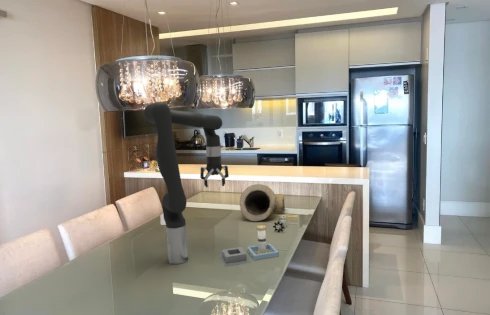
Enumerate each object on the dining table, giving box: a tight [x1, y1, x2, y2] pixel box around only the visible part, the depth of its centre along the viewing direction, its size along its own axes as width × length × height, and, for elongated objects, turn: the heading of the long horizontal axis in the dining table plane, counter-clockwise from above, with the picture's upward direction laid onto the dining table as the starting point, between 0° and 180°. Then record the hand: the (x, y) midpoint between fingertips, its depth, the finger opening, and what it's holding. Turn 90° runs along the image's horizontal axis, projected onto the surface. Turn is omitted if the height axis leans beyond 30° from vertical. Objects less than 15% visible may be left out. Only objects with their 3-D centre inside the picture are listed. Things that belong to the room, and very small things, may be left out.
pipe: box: [239, 183, 286, 222], centre depth 245 cm, size 23×29×30 cm
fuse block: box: [218, 246, 252, 268], centre depth 173 cm, size 12×16×4 cm
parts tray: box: [246, 243, 280, 261], centre depth 177 cm, size 12×12×4 cm
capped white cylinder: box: [256, 224, 268, 254], centre depth 176 cm, size 4×4×14 cm
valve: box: [272, 215, 288, 233], centre depth 215 cm, size 7×7×12 cm
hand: (214, 186), depth 191 cm, fingers open, 8 cm apart
